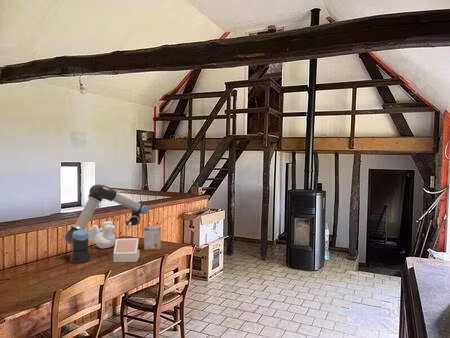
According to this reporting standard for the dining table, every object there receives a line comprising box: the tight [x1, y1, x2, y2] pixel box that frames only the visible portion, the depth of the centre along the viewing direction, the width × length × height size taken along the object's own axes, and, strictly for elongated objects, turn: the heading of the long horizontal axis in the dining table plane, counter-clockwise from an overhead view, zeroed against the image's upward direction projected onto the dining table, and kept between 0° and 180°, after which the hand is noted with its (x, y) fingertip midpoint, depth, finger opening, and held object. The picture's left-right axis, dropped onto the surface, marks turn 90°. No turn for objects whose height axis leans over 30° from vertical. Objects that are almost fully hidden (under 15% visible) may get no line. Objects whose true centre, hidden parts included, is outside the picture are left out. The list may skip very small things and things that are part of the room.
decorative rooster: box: [87, 220, 117, 249], centre depth 323 cm, size 25×16×25 cm, turn 81°
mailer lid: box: [113, 237, 140, 255], centre depth 280 cm, size 14×18×1 cm
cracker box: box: [143, 225, 162, 251], centre depth 315 cm, size 14×6×21 cm, turn 84°
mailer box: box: [113, 249, 140, 263], centre depth 282 cm, size 14×18×6 cm
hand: (129, 225), depth 293 cm, fingers closed
